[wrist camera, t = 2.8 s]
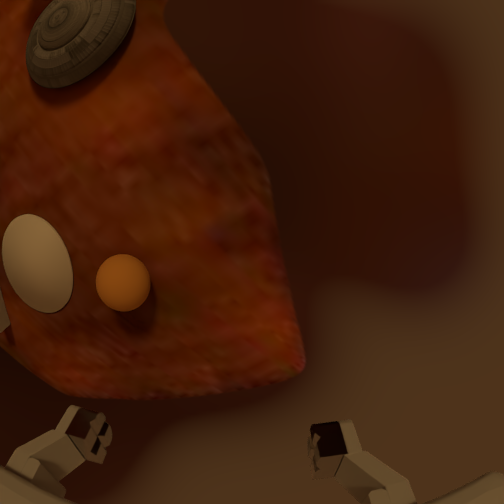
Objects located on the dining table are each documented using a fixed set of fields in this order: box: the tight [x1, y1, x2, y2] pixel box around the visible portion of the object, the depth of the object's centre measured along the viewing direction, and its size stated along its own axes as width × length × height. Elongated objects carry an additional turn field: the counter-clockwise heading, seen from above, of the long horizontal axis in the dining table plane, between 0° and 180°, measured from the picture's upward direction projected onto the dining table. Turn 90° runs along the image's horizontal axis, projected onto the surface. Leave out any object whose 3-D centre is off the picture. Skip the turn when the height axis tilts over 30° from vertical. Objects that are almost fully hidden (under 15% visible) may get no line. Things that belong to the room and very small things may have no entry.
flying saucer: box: [26, 0, 136, 88], centre depth 18 cm, size 15×15×6 cm
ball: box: [96, 254, 151, 311], centre depth 27 cm, size 6×6×6 cm
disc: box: [2, 214, 73, 313], centre depth 29 cm, size 13×13×1 cm
